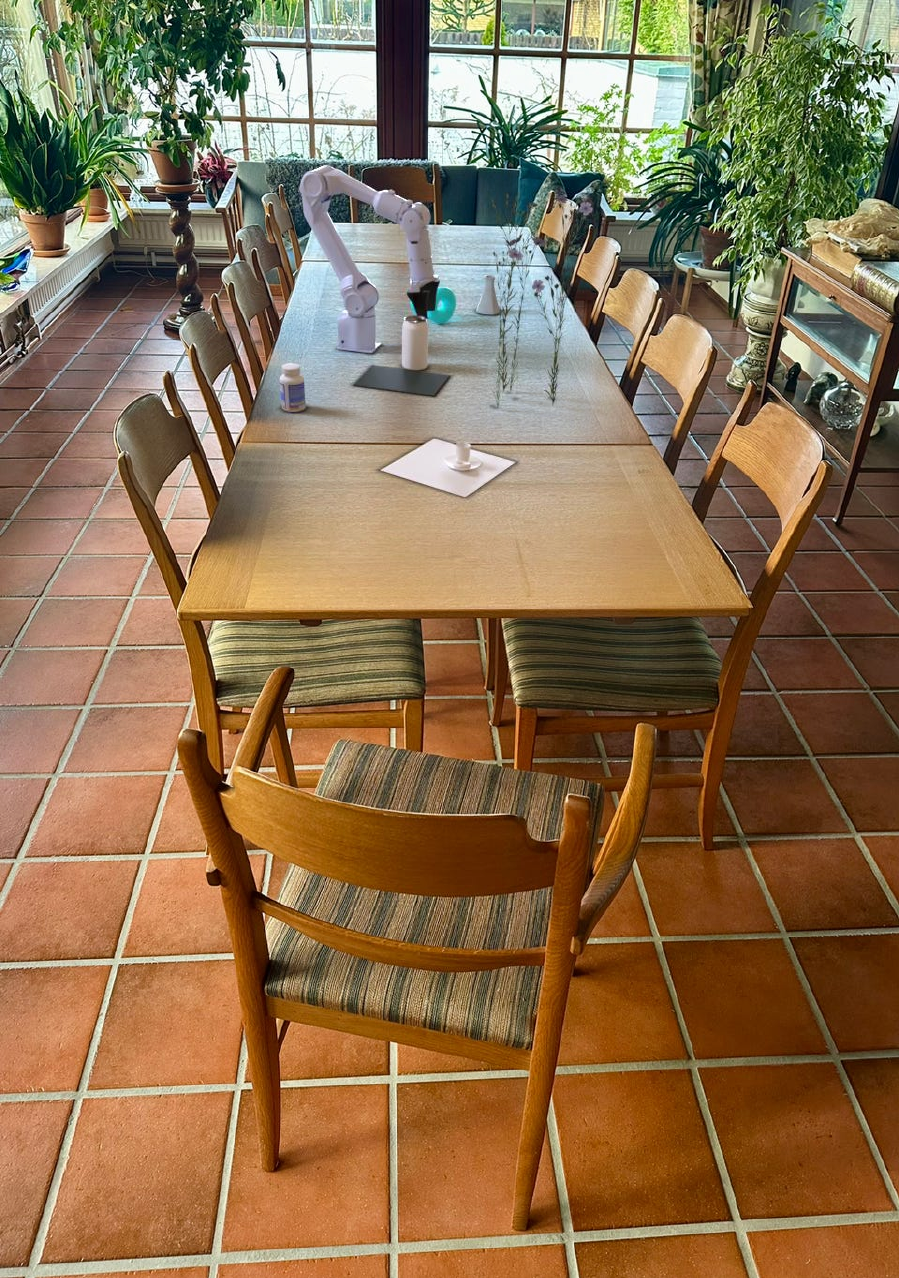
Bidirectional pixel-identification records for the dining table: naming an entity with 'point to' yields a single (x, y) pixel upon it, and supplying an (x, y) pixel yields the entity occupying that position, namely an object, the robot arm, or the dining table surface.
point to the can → (415, 343)
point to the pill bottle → (292, 388)
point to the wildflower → (536, 284)
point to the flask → (488, 298)
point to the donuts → (442, 306)
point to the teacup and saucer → (449, 467)
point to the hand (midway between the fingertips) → (426, 314)
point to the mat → (402, 380)
